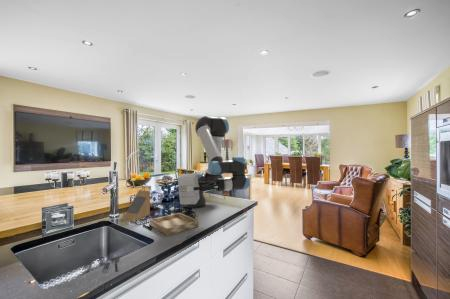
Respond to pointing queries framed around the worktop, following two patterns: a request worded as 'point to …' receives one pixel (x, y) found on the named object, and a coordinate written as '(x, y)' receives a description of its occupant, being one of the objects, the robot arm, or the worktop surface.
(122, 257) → the worktop surface
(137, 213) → the sandwich container
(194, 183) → the supplement box
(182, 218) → the oak tray
